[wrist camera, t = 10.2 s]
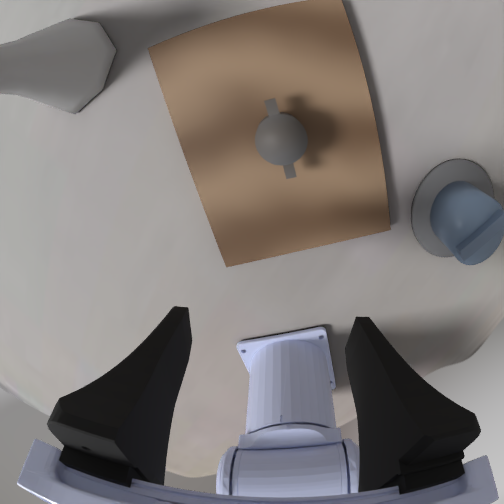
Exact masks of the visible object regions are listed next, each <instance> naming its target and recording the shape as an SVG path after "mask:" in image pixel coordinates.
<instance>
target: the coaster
mask: <svg viewBox="0 0 504 504" xmlns="http://www.w3.org/2000/svg"><path fill="white" fill-rule="evenodd" d="M455 181H465V182H468V183H470V184H471V185H473V186H475V187H476V188H478V189H479V190H481V191H482V192H484V193H485V194H487V195H489V196H490V197H491V198H493V199H494V192H493V187H492V184H491V181H490V179H489V177H488V175H487V174H486V173H485V171H484V170H483V169H482V168H481V167H479V166H478V165H477V164H475V163H473V162H471V161H468V160H465V159H452V160H448V161H445V162H443V163H441V164H439V165H438V166H436V167H435V168H434V169H432V170H431V171H430V172H429V173H428V174H427V175H426V177H425V178H424V179H423V181H422V182H421V184H420V186H419V187H418V190H417V192H416V194H415V197H414V200H413V205H412V211H411V221H412V228H413V232H414V234H415V237H416V238H417V240H418V242H419V243H420V244H421V245H422V247H423V248H424V249H425V250H426V251H428V252H429V253H431V254H433V255H435V256H439V257H452V256H454V255H453V253H452V252H451V251H450V250H449V249H448V248H447V247H446V246H445V245H444V244H443V242H442V241H441V240H440V239H439V238H438V237H437V236H436V235H435V233H434V232H433V230H432V227H431V223H430V212H431V208H432V204H433V202H434V200H435V198H436V196H437V195H438V193H439V192H440V191H441V190H442V189H443V188H444V187H445V186H447V185H448V184H450V183H452V182H455Z"/></svg>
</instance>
